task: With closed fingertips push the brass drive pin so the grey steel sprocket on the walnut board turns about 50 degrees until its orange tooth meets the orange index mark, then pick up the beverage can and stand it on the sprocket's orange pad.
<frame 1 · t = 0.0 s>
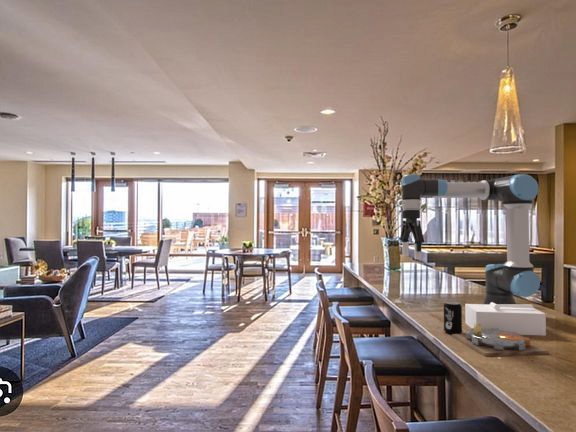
hand: (411, 257, 167), 28 cm above the table, fingers open, 13 cm apart
tissue box: (503, 330, 155), on the table
beverage can: (452, 333, 150), on the table
board: (496, 344, 135), on the table
sprocket: (496, 332, 135), point 4 cm above the table, hinge at 0.0°
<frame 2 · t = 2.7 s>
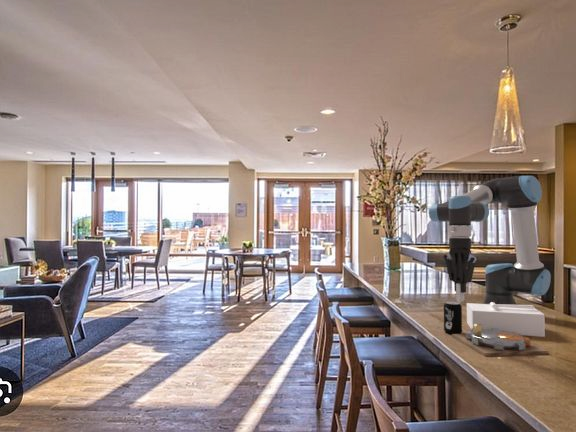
hand: (460, 301, 141), 15 cm above the table, fingers closed
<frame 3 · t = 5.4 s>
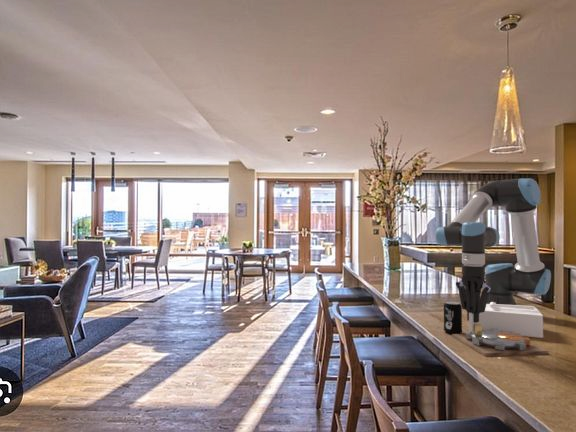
hand: (473, 330, 136), 5 cm above the table, fingers closed
sprocket: (496, 332, 135), point 4 cm above the table, hinge at 1.9°, touching gripper
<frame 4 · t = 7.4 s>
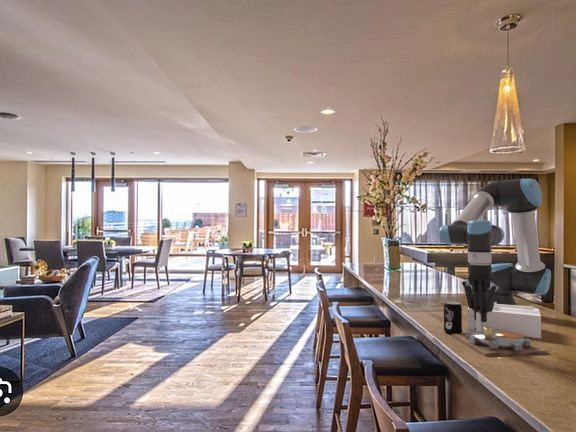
hand: (480, 330, 134), 5 cm above the table, fingers closed
sprocket: (496, 332, 135), point 4 cm above the table, hinge at 36.5°
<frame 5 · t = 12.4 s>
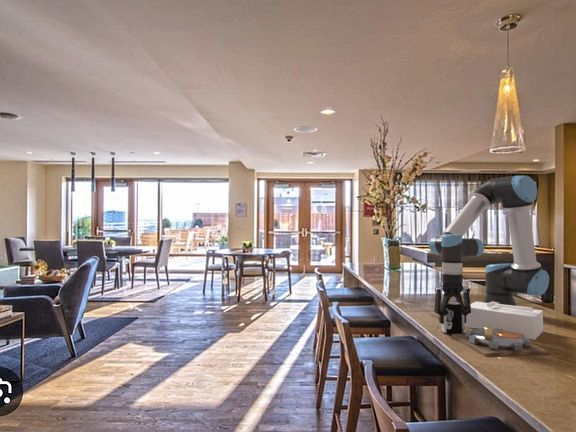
hand: (452, 331, 150), 0 cm above the table, fingers closed on beverage can, 7 cm apart
beverage can: (452, 333, 150), on the table, touching gripper
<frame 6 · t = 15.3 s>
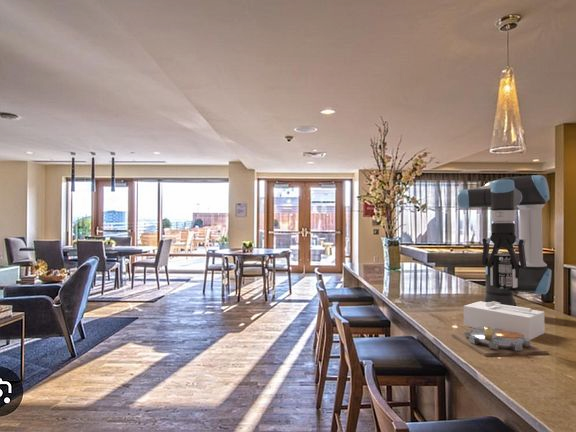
hand: (503, 285, 137), 21 cm above the table, fingers closed on beverage can, 7 cm apart
beverage can: (503, 287, 137), point 20 cm above the table, touching gripper
when the fingers open (5 cm above the table, at t = 18.3 s): beverage can drops 1 cm, resting on sprocket.
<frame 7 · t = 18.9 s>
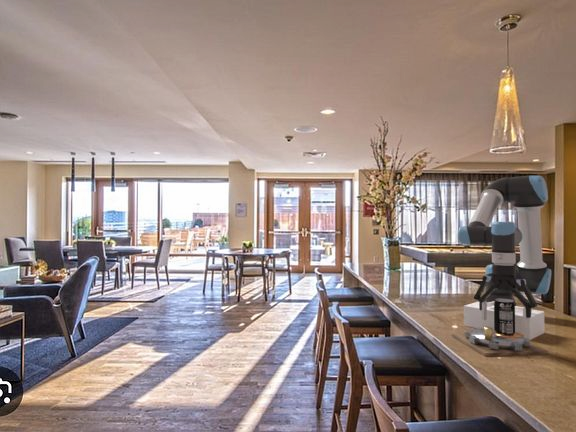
hand: (504, 323, 137), 7 cm above the table, fingers open, 13 cm apart
beverage can: (504, 333, 137), point 3 cm above the table, touching sprocket
sprocket: (496, 332, 135), point 4 cm above the table, hinge at 36.5°, touching beverage can
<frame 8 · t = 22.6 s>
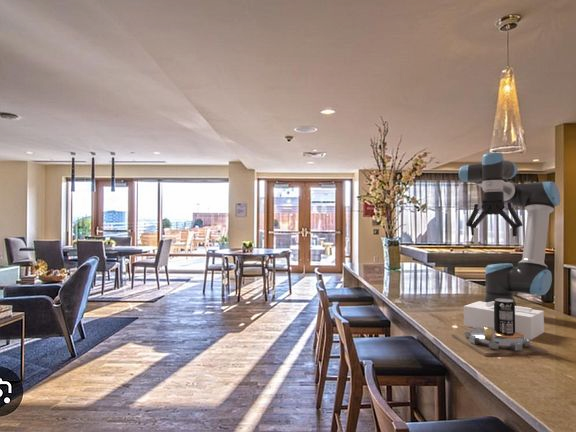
hand: (493, 244, 153), 35 cm above the table, fingers open, 13 cm apart
at the end: sprocket at +36° (first picture: +0°); beverage can 0.1 cm from the target spot, point 3.3 cm above the table; beverage can tilted 0° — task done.
